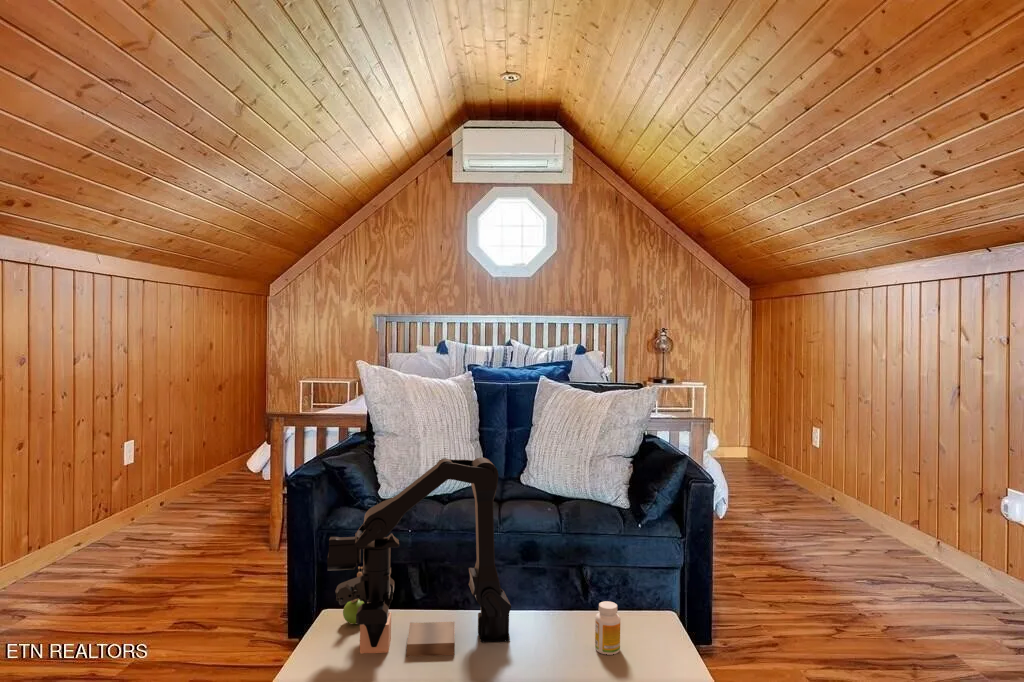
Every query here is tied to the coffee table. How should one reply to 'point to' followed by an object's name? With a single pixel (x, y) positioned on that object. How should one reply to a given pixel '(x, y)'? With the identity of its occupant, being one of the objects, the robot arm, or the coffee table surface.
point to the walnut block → (431, 639)
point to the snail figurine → (352, 607)
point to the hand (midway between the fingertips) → (375, 638)
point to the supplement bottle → (607, 629)
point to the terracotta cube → (383, 642)
